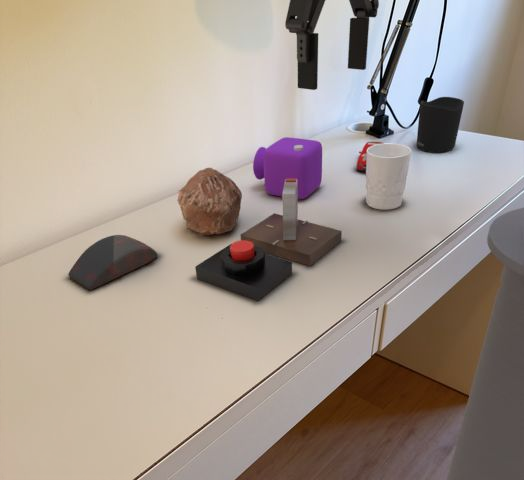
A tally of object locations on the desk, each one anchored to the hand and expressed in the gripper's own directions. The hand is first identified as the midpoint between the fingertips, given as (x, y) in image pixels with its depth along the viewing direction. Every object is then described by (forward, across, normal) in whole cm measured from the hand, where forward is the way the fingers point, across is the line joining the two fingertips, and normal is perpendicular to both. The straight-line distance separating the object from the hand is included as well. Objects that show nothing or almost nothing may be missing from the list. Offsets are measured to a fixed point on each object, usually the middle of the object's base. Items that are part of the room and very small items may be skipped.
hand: (333, 78), depth 76 cm
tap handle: (+23, +5, -4) cm, 24 cm away
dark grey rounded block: (+25, +27, -24) cm, 44 cm away
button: (+21, +18, -4) cm, 28 cm away
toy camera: (+25, -14, -18) cm, 34 cm away
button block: (+25, +18, -4) cm, 31 cm away
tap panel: (+25, +5, -4) cm, 26 cm away
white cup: (+25, -18, +2) cm, 31 cm away
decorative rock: (+25, +7, -20) cm, 33 cm away
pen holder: (+25, -53, -3) cm, 59 cm away
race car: (+25, -36, -10) cm, 45 cm away
